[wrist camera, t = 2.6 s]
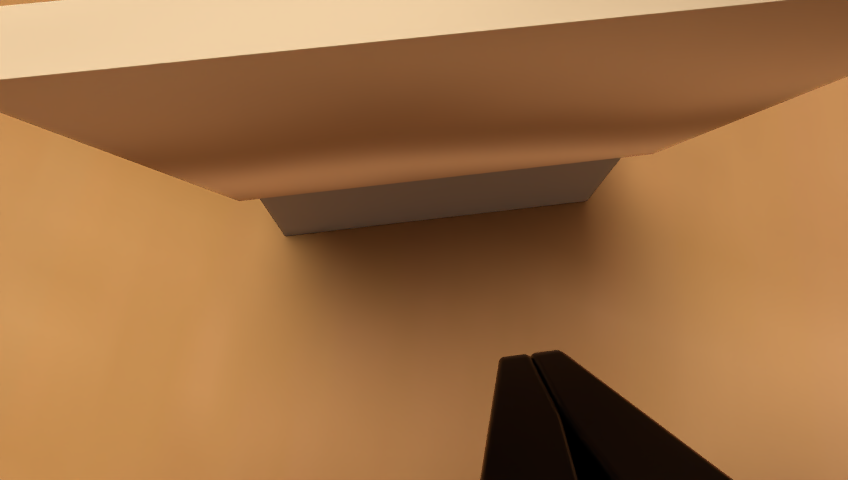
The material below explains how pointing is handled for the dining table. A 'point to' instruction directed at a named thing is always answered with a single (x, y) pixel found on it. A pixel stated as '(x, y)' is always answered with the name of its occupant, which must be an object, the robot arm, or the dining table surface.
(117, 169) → the dining table surface
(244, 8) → the lid
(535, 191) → the box
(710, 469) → the robot arm
